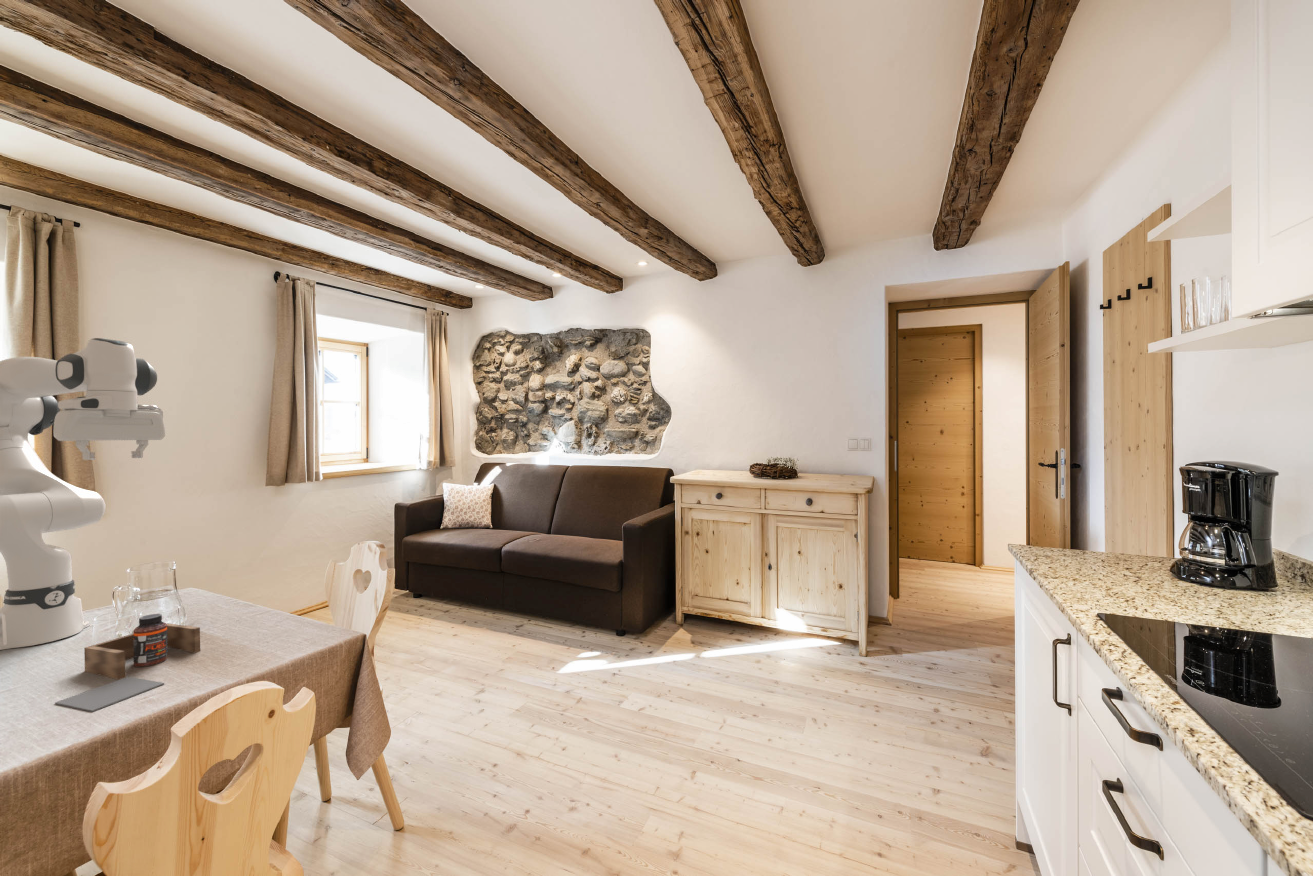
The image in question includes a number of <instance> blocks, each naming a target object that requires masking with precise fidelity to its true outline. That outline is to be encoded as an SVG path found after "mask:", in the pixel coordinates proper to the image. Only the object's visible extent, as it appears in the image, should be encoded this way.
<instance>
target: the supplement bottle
mask: <svg viewBox="0 0 1313 876" xmlns="http://www.w3.org/2000/svg"><path fill="white" fill-rule="evenodd" d="M162 619H163V616H162V613H154V614H152V613H151V614H148V615H147V614H146V615H143V616H140V617H139V618H138V626H136V627H135V628H134V630H133V633H132V634H133V661H132V662H133V666H134V667H137V668H140V667H142V668H143V667H150V666H154V665H157V664H160V663H162V662H164V661H165V660H167V659H168V647H167V622H164V621H162Z"/></svg>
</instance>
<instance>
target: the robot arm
mask: <svg viewBox="0 0 1313 876" xmlns="http://www.w3.org/2000/svg"><path fill="white" fill-rule="evenodd" d="M157 382H158V374H157V371H156V369H155V368H154V367H153V366H152V365H151V364H150V363H149V362H148V361H146V360H145V359H144V358H136V353H135V349H134V346H133V345H132V344H131V343H129V342H126V341H122V340H116V339H111V338H109V339H108V338H101V337H100V338H99V337H94V338H90V339H89V340H88V342H87V344H86V346H85V347H84V348H82V349H81V350H78V351H76V352H74V353H68V354H66V355H64V356H62V357H60V359H58V360H57V359H55V360H54V359H51V358H44V357H38V356H37V357H36V356H16V357H10V358H7V359H3V360H0V554H1V555H2V557H3V560H4V562H5V565H6V574H7V584H8V585H7V587H8V588H7V589H6V590H5V594H4V596H3V598H4V599H3V605H2V607H0V651H1V650H9V649H15V648H26V647H31V646H35V645H36V646H37V645H41V644H45V643H46V644H47V643H50V642H54V641H58V640H61V639H65V638H69V637H71V636H73V635H76V634H78V633H80V632H82V631H83V630H84V629H85V628H87V627H90V621H84V613H83V605H82V599H81V598H79V597H77V596H76V595H74V594H75V593H76V591H75V590H76V584H75V580H74V579H73V571H72V570H73V568H72V565H73V564H72V562H73V561H72V555H71V553H70V552H69V551H68V550H67V549H65V548H63V547H60V546H56V545H51V544H47V543H46V542H44V540H43V537H42V534H46V533H53V532H59V531H60V532H61V531H68V530H75V529H79V528H80V529H81V528H84V527H86V526H90V525H93V524H96V523H98V522H99V521H100V520H102V518H103V516H104V515H105V513H106V509H107V505H106V502H105V499H104V498H103V497H102V495H101V494H99V493H98V492H96V491H94V490H89V489H85V488H82V487H78V486H75V485H73V484H71V483H69V482H67V481H64V480H63V479H61V478H60V477H58V476H57V475H55V474H54V473H52V472H51V471H50V470H49V469H48V468H47V466H46V464H44V462H43V461H42V459H41V458H40V456H39V455H38V454H37V452H36V450H35V449H34V448H33V446H32V445H31V444H30V442H29V439H28V436H29V435H32V436H37V435H40V434H42V433H43V432H44V430H47V429H48V428H50V427H51V426H53V434H52V435H53V437H54V438H55V439H56V440H57V441H58V442H75V447H76V448H77V449H78V450H79V452H80V453H81V454H82V455H81V456H82V460H83V461H90V460H91V461H92V460H95V459H96V457H95V456H96V452H95V451H94V452H93V451H90V449H89V448H88V447H87V446H89V445H90V443H89V442H90V441H92V442H93V441H94V442H95V441H136V443H135V444H136V445H138V446H137V448H136V449H135V450H134V451H133V450H132V451H131V452H130V453H131V459H143V458H144V451H145V450H146V448H147V447H148V445H149V441H161V440H163V439H164V438H165V437H166V428H165V424H164V412H163V410H162V408H160V407H157V405H153V404H150V405H148V404H147V405H145V404H138V396H143V395H145V394H147V393H149V392H150V391H151V390H152V389H153V388H154V387H156V385H157ZM79 392H85V393H86V395H85V396H77V397H73V398H69V399H63V400H60V401H58V400H57V399H56V398H55V397H54V396H58V395H64V394H73V393H79Z"/></svg>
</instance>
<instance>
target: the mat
mask: <svg viewBox="0 0 1313 876" xmlns="http://www.w3.org/2000/svg"><path fill="white" fill-rule="evenodd" d="M164 685H165V682H162V681H161V682H160V681H155V680H150V679H145V678H139V677H133V676H125V678H122V679H119V680H118V679H116V680H114V681H112V682H110V683H106V684H103V685H100V686H97V687H95V688H92V689H90V690H86V691H84V692H81V693H78V694H75V695H72V696H70V697H69V696H68V697H67V698H64V699H61V700H58V701H55V702H54V704H55V705H57V706H63V707H67V708H73V709H77V710H80V711H81V710H82V711H87V712H90V713H94V712H96V711H99V710H101V709H105V708H107V707H109V706H112V705H114V704H117V703H119V702H123V701H125V700H127V699H129V698H133V697H135V696H138V695H140V694H143V693H145V692H148V691H150V690H154V689H156V688H158V687H161V686H164Z"/></svg>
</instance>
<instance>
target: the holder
mask: <svg viewBox="0 0 1313 876" xmlns="http://www.w3.org/2000/svg"><path fill="white" fill-rule="evenodd" d="M166 624H167V648H170V649H175V650H180V651H186V652H190V653H193V654H194V653H199V652H200V651H201V628H200V627H199V626H191V625H183V624H176V623H167V622H166ZM83 655H84V672H85V673H90V674H94V675H98V676H102V677H107V678H110V679H111V678H112V679H115V680H120V679H123V678H126V661H127V660H129V659H132V658H133V633H129V634H128V635H123V636H121V637H117V638H114V639H113V638H112V639H110V640H107V641H103V642H99V643H97V644H92V645H89V646H86V647H84V654H83Z"/></svg>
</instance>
